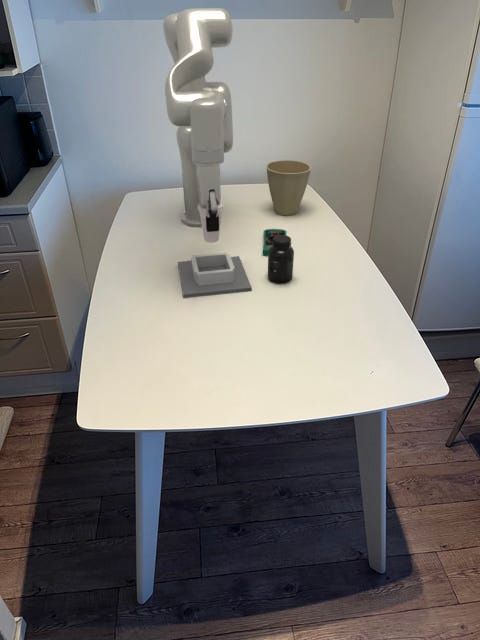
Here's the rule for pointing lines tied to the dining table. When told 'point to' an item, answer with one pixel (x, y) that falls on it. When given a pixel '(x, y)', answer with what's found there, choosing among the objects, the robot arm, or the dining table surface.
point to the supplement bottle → (280, 260)
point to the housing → (213, 275)
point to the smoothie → (208, 236)
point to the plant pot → (287, 184)
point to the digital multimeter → (270, 238)
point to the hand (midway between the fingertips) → (211, 225)
